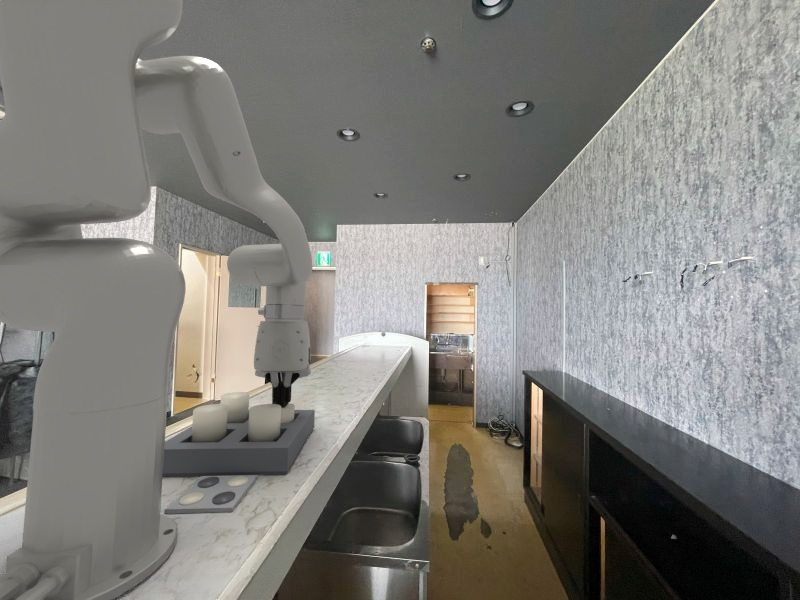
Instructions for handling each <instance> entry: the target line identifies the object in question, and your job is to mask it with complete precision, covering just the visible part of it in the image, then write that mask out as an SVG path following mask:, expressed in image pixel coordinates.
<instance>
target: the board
mask: <svg viewBox="0 0 800 600" xmlns="http://www.w3.org/2000/svg"><path fill="white" fill-rule="evenodd" d="M248 428H249V415H248V420H247V421H246V422H244V423H227V434H226V437H225V438H224V439H222V440H221V441H218V442H194V443H192V442H191V441H192V425H191V426H190V427H188V428H186V429H184V430H182V431H181V432H179V433H178V434H175V436H172V437H171V438H169V439H167V440H165V447H164V463H163V478H173V477H174V478H176V477H177V478H179V477H180V478H181V477H184V478H185V477H201V476H232V475H258V476H278V475H280V476H284V475H285V476H286V475H288V474H289V473H290V471H291V469H292V467H293V465H294V463H295V462H296V460H297V459H298V457H299V456H300V453H301V452H302V450H303V448H304V447H305V445H306V443H307V442H308V440H309V438H310V437H311V435H312V433H313V431H314V430H313V428H314V429H315V409H295V410H294V421H293V423H281V424H280V437H279V438H278V439H277V440H275V441H272V442H249V441H248ZM312 430H313V431H312ZM311 432H312V433H311ZM310 434H311V435H310ZM307 439H308V440H307ZM304 444H305V445H304ZM303 446H304V447H303Z"/></svg>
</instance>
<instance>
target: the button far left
mask: <svg viewBox="0 0 800 600" xmlns="http://www.w3.org/2000/svg"><path fill="white" fill-rule="evenodd" d="M220 404H225V405H227V406H228V413H227V423H244V422H246V421H247V420H248V415H249V409H250V393H249V392H244V391H238V392H237V391H236V392H235V391H234V392H229V393H225V394H224V393H223V394H222V395H220Z"/></svg>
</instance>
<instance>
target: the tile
mask: <svg viewBox="0 0 800 600" xmlns="http://www.w3.org/2000/svg"><path fill="white" fill-rule="evenodd" d="M258 477H259V475H232V476H199V478H198V479H197V480H196V481H194V483H192V484H191V485H190V486H189V487H188V488H187V489H186V490H184V491H183V492H181V494H180V495H179V496H178V497H177V498H175V500H173V501H172V502H171V503H169V505H168V506H166V508H164V511H163V512H164V514H163V515H165V514H167V515H168V514H202V513H203V514H205V513H233V512H234V510H235V509H236V508H237V507H238V505H239V504H240V503H241V501H242V499H244V497H245V496H246V495H247V493H248V492H249V490H250V489H251V488H252V487H253V485H254V484H255V483H256V481H257V480H258Z"/></svg>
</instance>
